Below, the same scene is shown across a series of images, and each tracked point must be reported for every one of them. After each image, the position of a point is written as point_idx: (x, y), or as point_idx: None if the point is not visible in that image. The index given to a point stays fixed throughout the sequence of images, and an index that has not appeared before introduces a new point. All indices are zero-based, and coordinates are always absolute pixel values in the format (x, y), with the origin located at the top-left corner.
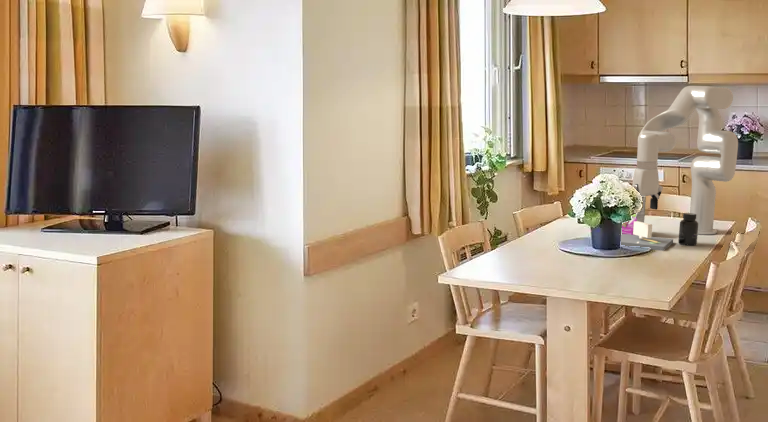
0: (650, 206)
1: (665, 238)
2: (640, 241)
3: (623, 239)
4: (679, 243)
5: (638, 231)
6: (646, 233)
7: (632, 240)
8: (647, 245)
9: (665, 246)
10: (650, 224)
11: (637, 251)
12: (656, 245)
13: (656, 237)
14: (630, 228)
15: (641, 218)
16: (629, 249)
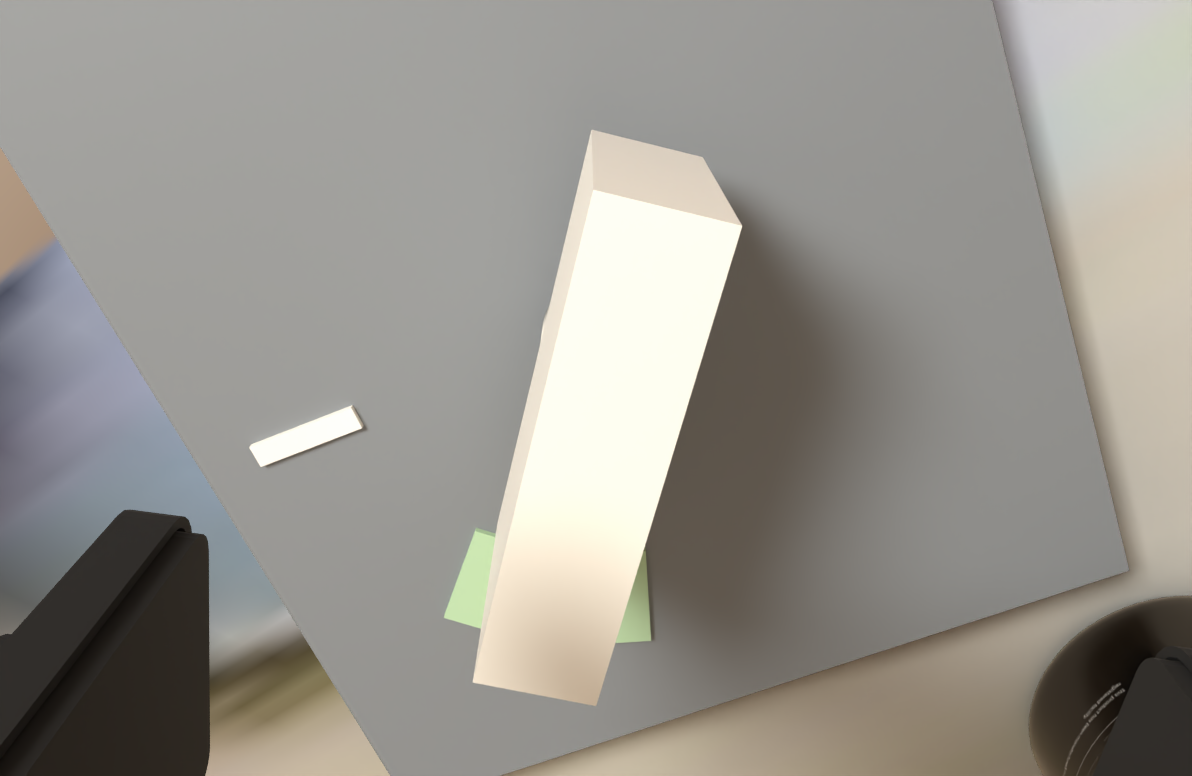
0: (1181, 711)
1: (1084, 470)
2: (443, 395)
3: (305, 90)
4: (1058, 654)
5: (549, 316)
6: (498, 536)
7: (389, 256)
8: (298, 618)
9: (538, 749)
10: (576, 675)
11: (27, 609)
12: (392, 711)
13: (1053, 329)
14: None
15: None
16: (18, 465)
